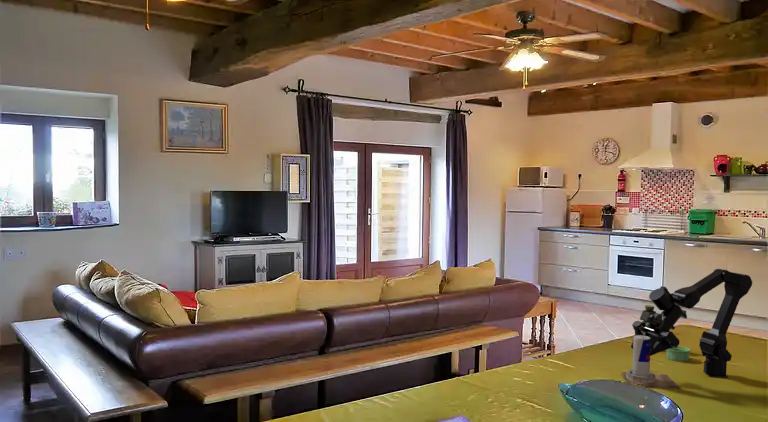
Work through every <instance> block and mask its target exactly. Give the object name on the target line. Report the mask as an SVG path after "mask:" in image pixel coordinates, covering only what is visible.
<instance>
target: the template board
mask: <svg viewBox="0 0 768 422" xmlns="http://www.w3.org/2000/svg"><path fill="white" fill-rule="evenodd" d="M632 373H633V368H632V369H628V370H627V371H626V372H623V371H622V372H620V375H621V377H622V378H623V379H624V380H625V382H626V383H627V382H628V383H633V384H637V385H641V386H645V387H644V388H653V389H655V388H656V389H673V390H679V389H680V387H679V384H677V382H676V381H674V380H673V379H672V378H671V377H670V376H669V375H668V374H665V373H664V374H663V373H662V374H661V373H659V374H658V373H654V372H652V371H650V376H649V377H641V376H636V375H633V374H632ZM628 383H627V384H628Z"/></svg>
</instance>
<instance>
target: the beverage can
mask: <svg viewBox="0 0 768 422" xmlns="http://www.w3.org/2000/svg"><path fill="white" fill-rule="evenodd" d="M633 339H634V340H632V342H633V349H632V350H633V351H632V369H633V373H632V374H633V375H636V376H641V377H649V376H650V372H651V370H650V367H651V356H650V355H649V352H650V350H651V349H650V345H651V340H650V337H648V336H642V335H636V336H635V335H633Z"/></svg>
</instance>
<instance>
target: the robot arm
mask: <svg viewBox="0 0 768 422" xmlns="http://www.w3.org/2000/svg"><path fill="white" fill-rule="evenodd" d="M722 283H724V285H723V287H724V292H725V294H724V298H723V299H722V302H721V304H720V306H719V309H718V311H717V314H716V317H715V319H714V322H713V323H712V325H711V329H709V330H708V331H707V330H706V331H703V332H702V334H701V337H700V339H699V340H698V342H699V343H698V345H699V348H700V353H701V355H702V356H703V357H705V360H704V361H703V373H704V374H706V375H707V377H710V378H729V376H728V375H727V363H728V362H731V360H732V353H730V352H729V350H728V349H727V346H728V340H727V332H728V331H729V330H728V329H729V327H730V325H731V323H732V320H733V318H734V315H735V312H736V310H737V307H738V305H739V303H740V301H741V299H742V298H744V296H746V295H747V294H748V293H749V292H750V289H751V287H752V286H753V280H752V278H751V276H750V275H749V274H746V273H740V272H739V273H737V272H732V271H729V270H727V269H722V268H716V269H714V270H713V272H711V273H709V274H708V275H707V276H705V277H703V278H702V279H700V280H698V281H697V282H695V283H694V284H692V285H690V286H685V287H681V288H679V289H677V290H674V291H673V293H671V292H670V291H669V290H668V288H667V287H666V286H663V285H662V286H660V287H659V288H655V289H654V290H653V291H651V292H650V293H649V296H648V299H650V301H651V302H652V304H653V305H654V306H655V307H656V309H658V310H659V311H661V312H660V313H658V312H656V313H655V314H654V315H653V314H651V313H648V312H644V311H643V310H642V311H641V312H642V313H641V314H640V317H639V320H635V321H634V322H633V323H632V324H631V326H632V329H633V330H634V336H636V335H642V336H648V337H649V336H650V335H654V336H657V337H658V338H657V342H656V343H655V345H654V346H653V347H652V349H650V352H649V355H650V357H652V356H653V355H656V354H659V353H662V352H664V351H666V350H667V349H670V348H671V349H672V348H673V347H675V348H677V346H680V339H679V338H678V337H677V336H676V335H675V334H674V333H673V331H674V330H675V328H676V327H675V325H676V323H677V322H678V320H679V319H681V318H682V319H686V320H687V319H688V315H687V310H684V309H683V308H685V309H688V310H689V309H693V308H694V307H695V306H696V305H697V304H698V303H700V300H701V298H702V296H704V295H706V294H708V292H711V291H712V290H713V289H715V288H716V287H718V286H720V285H721V284H722ZM642 321H645V322H647V325H648V326H649V327H650V328H648V327H647V326H646V324H645V323H643V322H642ZM671 330H673V331H671ZM633 340H634V338H633ZM633 340H632V342H631V344H630V345H631V346H630V347H631V349H632V350H633Z"/></svg>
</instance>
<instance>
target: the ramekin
mask: <svg viewBox="0 0 768 422" xmlns="http://www.w3.org/2000/svg"><path fill="white" fill-rule="evenodd" d="M665 351H666V358H667V359H668V360H671V361H675V362H681V363H683V362H688V361H689V360H690V353H691V349H690V348H689V347H686V346H681V345H678V346H677V348H675V347H673V348H672V349H671V348H670V349H667V350H665Z"/></svg>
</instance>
